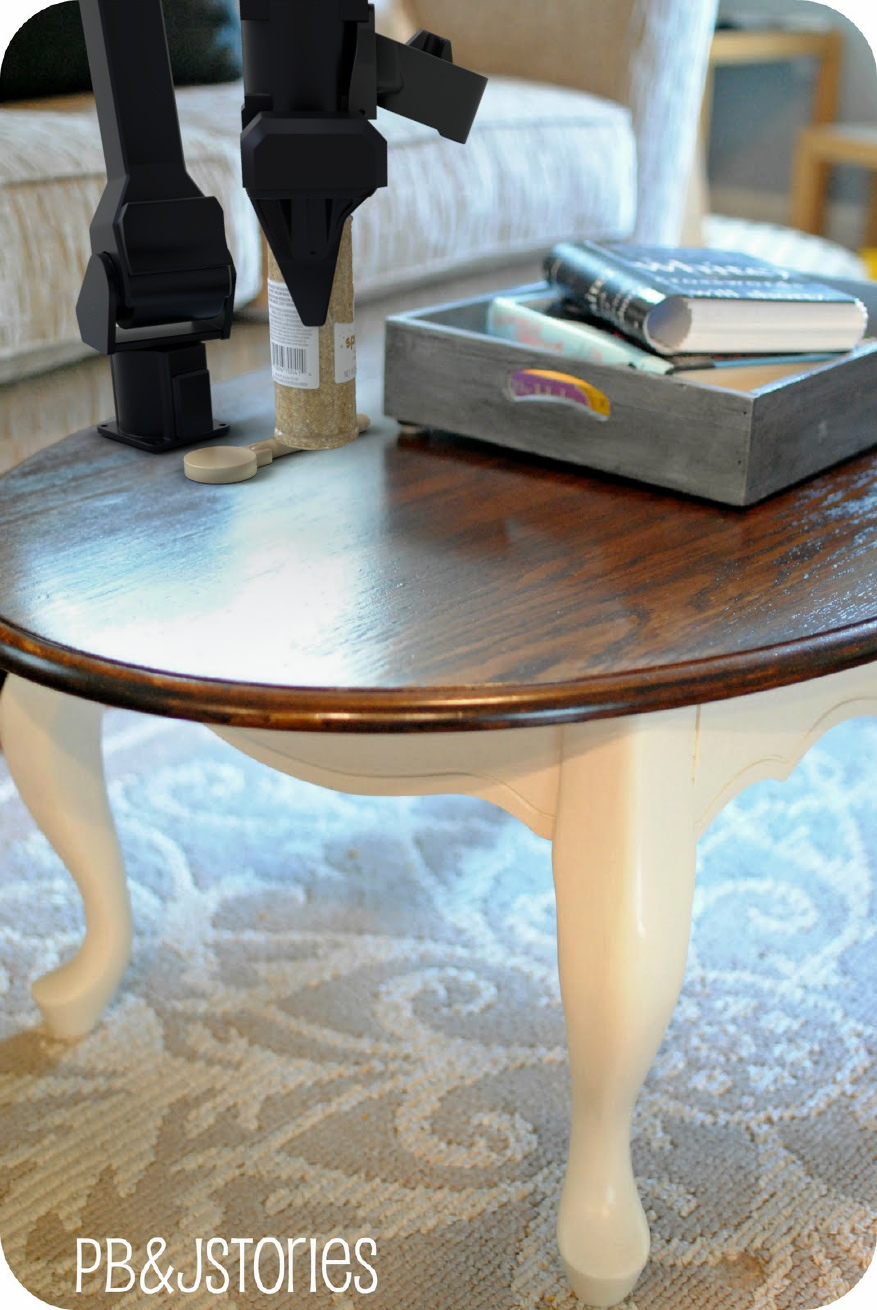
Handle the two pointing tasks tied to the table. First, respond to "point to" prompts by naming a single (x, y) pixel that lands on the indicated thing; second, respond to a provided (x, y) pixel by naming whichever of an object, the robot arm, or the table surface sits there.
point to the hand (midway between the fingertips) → (312, 315)
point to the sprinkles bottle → (315, 361)
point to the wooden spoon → (239, 459)
